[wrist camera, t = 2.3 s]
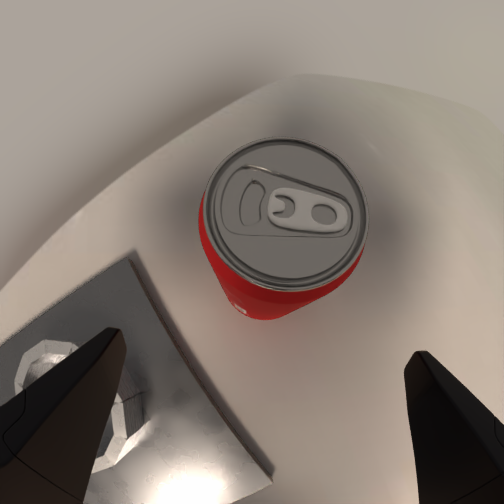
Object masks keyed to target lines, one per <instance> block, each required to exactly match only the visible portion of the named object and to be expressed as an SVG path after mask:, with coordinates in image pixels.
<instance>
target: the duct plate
mask: <svg viewBox="0 0 504 504" xmlns="http://www.w3.org/2000/svg"><path fill="white" fill-rule="evenodd" d="M107 327H115V328H119V329H121V330H122V333H123V336H124V340H125V343H126V347H127V353H126V358H125V361H124V365H123V370H122V374H121V378H120V382H119V386H118V391H117V395H116V398H115V401H114V404H113V407H112V410H111V413H110V415H109V418H108V421H107V424H106V427H105V430H104V434H103V437H102V440H101V443H100V446H99V449H98V453H97V456H96V459H95V463H94V466H93V469H92V473H91V476H90V480H89V484H88V487H87V491H86V495H85V499H84V503H83V504H231V503H233V502H235V501H238V500H240V499H242V498H244V497H247V496H249V495H251V494H253V493H255V492H257V491H259V490H261V489H264V488H266V487H268V486H269V485H271V484H273V479H272V477H271V475H270V474H269V473H268V472H267V471H266V469H265V468H264V467H263V466H262V465H261V463H260V462H259V461H258V460H257V458H256V457H255V456H254V455H253V453H252V452H251V451H250V450H249V448H248V447H247V446H246V444H245V443H244V442H243V441H242V439H241V438H240V437H239V435H238V434H237V433H236V431H235V430H234V429H233V427H232V426H231V424H230V423H229V422H228V420H227V419H226V418H225V416H224V415H223V413H222V412H221V411H220V409H219V408H218V406H217V405H216V403H215V402H214V400H213V399H212V398H211V396H210V395H209V393H208V392H207V390H206V389H205V387H204V386H203V384H202V383H201V381H200V380H199V378H198V377H197V375H196V373H195V372H194V370H193V369H192V367H191V366H190V364H189V362H188V361H187V359H186V358H185V356H184V354H183V353H182V351H181V350H180V348H179V346H178V345H177V343H176V341H175V340H174V338H173V336H172V334H171V333H170V331H169V329H168V328H167V326H166V324H165V322H164V321H163V319H162V317H161V315H160V314H159V312H158V310H157V308H156V306H155V305H154V303H153V301H152V299H151V297H150V295H149V293H148V292H147V290H146V288H145V286H144V284H143V282H142V280H141V278H140V276H139V274H138V272H137V270H136V268H135V266H134V264H133V262H132V261H131V260H130V259H128V258H127V257H126V258H125V259H123V260H122V261H120V262H119V263H117V264H116V265H114V266H113V267H111V268H109V269H108V270H106V271H105V272H103V273H102V274H100V275H99V276H97V277H96V278H95V279H93V280H92V281H90V282H89V283H87V284H86V285H84V286H83V287H81V288H80V289H78V290H77V291H76V292H74V293H73V294H71V295H70V296H68V297H67V298H66V299H64V300H63V301H61V302H60V303H59V304H57V305H56V306H54V307H53V308H52V309H50V310H49V311H47V312H46V313H45V314H43V315H42V316H41V317H39V318H38V319H37V320H35V321H34V322H33V323H31V324H30V325H29V326H27V327H26V328H25V329H23V330H22V331H21V332H19V333H18V334H17V335H15V336H14V337H13V338H12V339H10V340H9V341H8V342H7V343H5V344H4V345H3V346H1V347H0V406H1V405H3V404H4V403H6V402H7V401H9V400H10V399H11V398H13V397H14V396H15V395H17V394H18V393H19V392H21V391H22V390H23V389H26V387H27V386H29V385H30V384H31V383H33V382H34V381H35V380H37V379H38V378H39V377H40V376H42V375H43V374H44V373H46V372H47V371H48V370H50V369H51V368H52V367H54V366H55V365H56V364H58V363H59V362H60V361H62V360H63V359H64V358H66V357H67V356H68V355H70V354H71V353H72V352H74V351H75V350H77V349H78V348H79V347H81V346H82V345H83V344H85V343H86V342H87V341H89V340H90V339H91V338H93V337H94V336H96V335H97V334H98V333H100V332H101V331H102V330H104V329H105V328H107Z"/></svg>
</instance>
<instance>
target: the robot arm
mask: <svg viewBox="0 0 504 504" xmlns="http://www.w3.org/2000/svg"><path fill="white" fill-rule="evenodd" d="M126 353H127V347H126V343H125V340H124V336H123V333H122V330H121V329H119V328H115V327H107V328H105V329H104V330H102V331H101V332H100V333H98V334H97V335H96V336H94V337H93V338H91V339H90V340H89V341H87V342H86V343H85V344H83V345H82V346H81V347H79V348H78V349H77V350H75V351H74V352H72V353H71V354H70V355H68V356H67V357H66V358H64V359H63V360H62V361H60V362H59V363H58V364H56V365H55V366H54V367H52V368H51V369H50V370H48V371H47V372H46V373H44V374H43V375H42V376H40V377H39V378H38V379H37V380H35V381H34V382H33V383H31V384H30V385H29V386H27V387H26V389H23V390H22V391H21V392H19V393H18V394H17V395H15V396H14V397H13V398H11V399H10V400H9V401H7V402H6V403H4V404H3V405H1V406H0V504H83V503H84V499H85V495H86V491H87V487H88V484H89V480H90V476H91V473H92V469H93V466H94V463H95V459H96V456H97V453H98V449H99V446H100V443H101V440H102V437H103V434H104V430H105V427H106V424H107V421H108V418H109V415H110V413H111V410H112V407H113V404H114V401H115V398H116V395H117V391H118V386H119V382H120V378H121V374H122V370H123V365H124V361H125V358H126ZM404 379H405V389H406V400H407V411H408V418H409V424H410V430H411V436H412V443H413V450H414V457H415V465H416V473H417V483H418V494H419V504H504V425H503V424H502V423H501V422H500V421H499V419H498V418H497V417H495V416H494V415H493V414H492V412H491V411H490V410H489V409H488V408H486V407H485V406H484V405H483V404H482V403H481V402H480V401H479V400H478V399H477V398H476V397H475V396H474V395H473V394H472V393H471V392H470V391H469V390H468V389H467V388H466V387H465V386H464V385H463V384H462V383H461V382H460V381H459V380H458V379H457V378H456V377H455V376H454V375H453V374H451V373H450V372H449V371H448V370H447V369H446V368H445V367H444V366H443V365H442V364H441V363H440V362H439V361H438V360H437V359H435V358H434V357H433V356H432V355H431V354H430V353H429V352H428V351H416V352H415V353H414V354H413V355H412V357H411V359H410V360H409V362H408V363H407V365H406V367H405V369H404Z"/></svg>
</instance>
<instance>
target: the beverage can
mask: <svg viewBox="0 0 504 504" xmlns="http://www.w3.org/2000/svg"><path fill="white" fill-rule="evenodd" d="M368 227H369V211H368V204H367V200H366V196H365V193H364V191H363V188H362V186H361V184H360V182H359V181H358V179H357V177H356V176H355V174H354V173H353V172H352V170H351V169H350V168H349V167H348V165H347V164H346V163H345V162H344V161H343V160H342V159H341V158H340V157H339V156H337V155H336V154H334V153H332V152H331V151H329V150H328V149H326V148H324V147H322V146H320V145H318V144H315V143H313V142H310V141H307V140H303V139H298V138H292V137H271V138H264V139H260V140H256V141H253V142H250V143H248V144H246V145H244V146H242V147H240V148H238V149H237V150H235V151H234V152H232V153H231V154H230V155H228V156H227V157H226V158H225V159H224V160H223V161H222V162H221V163H220V164H219V166H218V167H217V168H216V170H215V171H214V173H213V174H212V176H211V178H210V180H209V182H208V185H207V187H206V190H205V192H204V195H203V198H202V201H201V205H200V209H199V233H200V238H201V242H202V246H203V249H204V251H205V253H206V256H207V258H208V260H209V262H210V264H211V266H212V268H213V270H214V272H215V274H216V276H217V278H218V280H219V282H220V284H221V286H222V288H223V290H224V292H225V294H226V296H227V297H228V299H229V301H230V302H231V304H232V305H233V306H234V307H235V308H236V309H237V310H238V311H239V312H241V313H242V314H244V315H246V316H248V317H251V318H254V319H259V320H271V319H276V318H279V317H282V316H284V315H286V314H288V313H290V312H292V311H294V310H297V309H299V308H301V307H303V306H305V305H307V304H309V303H311V302H313V301H315V300H317V299H319V298H321V297H323V296H325V295H327V294H328V293H330V292H332V291H333V290H334V289H336V288H337V287H339V286H340V285H341V284H342V283H343V282H344V281H345V280H346V279H347V278H348V277H349V276H350V274H351V273H352V272H353V270H354V269H355V267H356V265H357V264H358V262H359V260H360V257H361V255H362V252H363V249H364V245H365V241H366V238H367V234H368Z"/></svg>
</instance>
